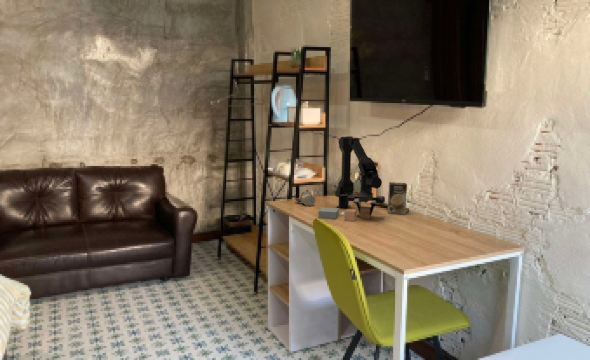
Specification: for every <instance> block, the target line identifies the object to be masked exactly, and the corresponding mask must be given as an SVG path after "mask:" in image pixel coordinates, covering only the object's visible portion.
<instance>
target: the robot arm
mask: <svg viewBox="0 0 590 360" xmlns="http://www.w3.org/2000/svg"><path fill="white" fill-rule="evenodd" d="M338 148H339V150H340V152H341V176H340V177H341V178H340V180H339V181H338V183H337V184H338V185H337V188H336V189H335V192H334V196H335V197H337V198H338V205H337V206H336V208H338V209H350V207H351V205H350V203H349V202H352V203H353V204H355V205H356V207H357V210H358V212H359V213H358V214H360V208H361V207H362V202H364V203H369V202H370V201H371V204H370V205H371V206H370V207H371V211H370V216H371V217H372V214H373V213H374V209H375V206H376V205H378V204H385V202H386V197H385V196H384V195H376V197H375V196H374V195H373V194H374V193H373V189H375V190H376V189H379V188H381V186H382V183H383V181H382V178H381V177H380V176H379V173H378V169H377V167H376V164H375V162H374V161H373V159H372V158H371V157H369V156H368V155H367V154H366V151H365V150H364V148H363V146H362V144H361V141H360V137H353V136H340V138H339V139H338ZM352 152H353V153H354V154H355V156H356V158H357V160H358V165H357V166H358V169H359V171H360V173H359V176H360V177H361V178H360V190H359V192H358V193H359V194H354V191H355V190H354V186H355V185H354V184H355V183H354V182H353V181H352V179H351V170H352V169H351V166H352V165H351V162H352V161H351V160H352Z"/></svg>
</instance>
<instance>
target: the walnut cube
mask: <svg viewBox="0 0 590 360" xmlns="http://www.w3.org/2000/svg"><path fill="white" fill-rule="evenodd" d="M370 211H371V206H364V205H363V206H362V205H361V208H360V213H359V219H370V218H371V217H372V215H371V216H370Z"/></svg>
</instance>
